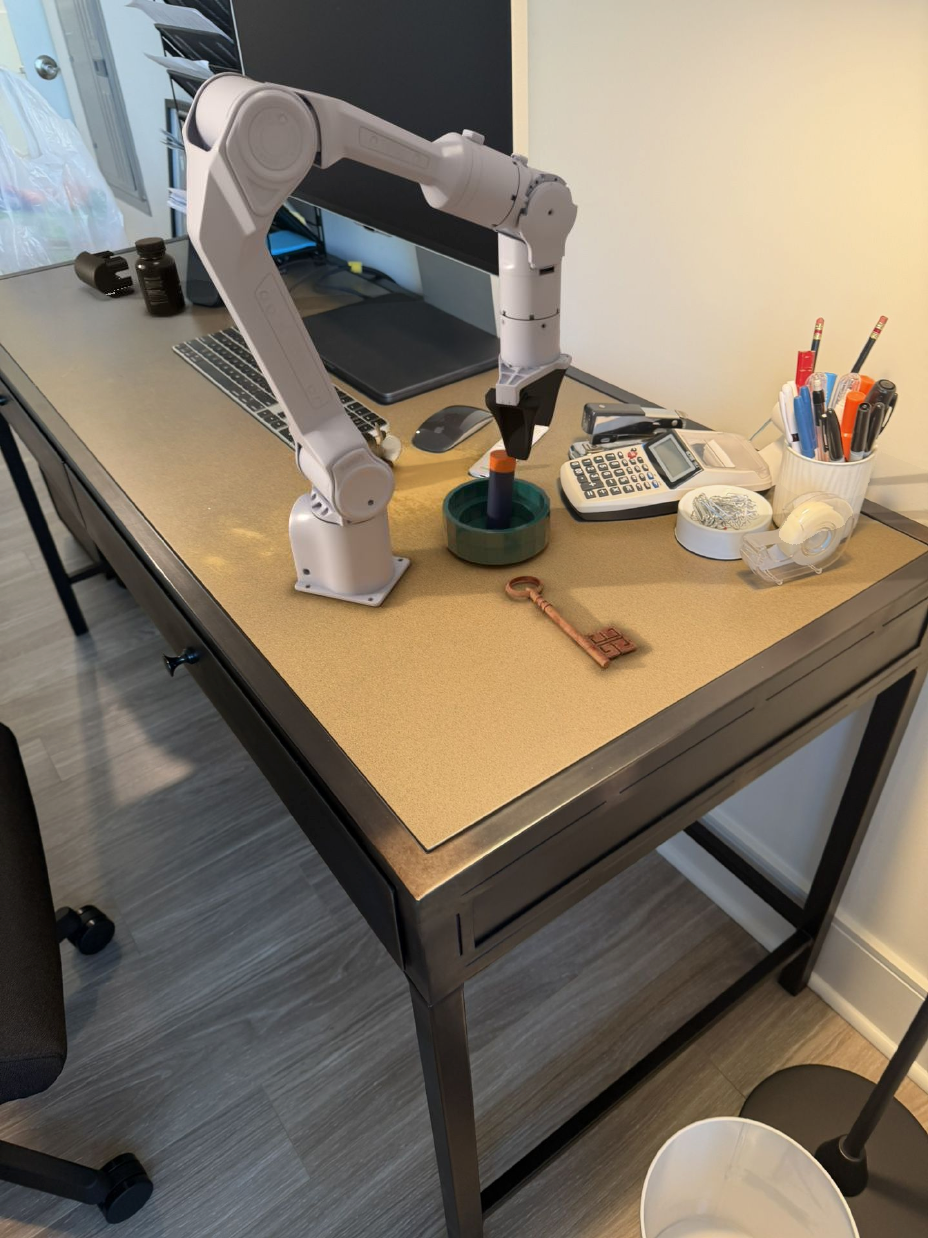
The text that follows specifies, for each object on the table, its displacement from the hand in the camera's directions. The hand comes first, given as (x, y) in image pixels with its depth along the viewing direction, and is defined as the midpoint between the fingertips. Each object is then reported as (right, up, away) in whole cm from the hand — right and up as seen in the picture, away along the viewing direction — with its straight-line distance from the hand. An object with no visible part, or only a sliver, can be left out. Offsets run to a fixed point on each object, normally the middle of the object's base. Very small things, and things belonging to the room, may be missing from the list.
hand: (529, 440), depth 89 cm
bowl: (-3, -10, +3) cm, 11 cm away
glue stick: (-3, -9, +2) cm, 10 cm away
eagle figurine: (-19, -1, +15) cm, 24 cm away
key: (+3, -19, -8) cm, 21 cm away
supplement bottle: (-60, +37, +65) cm, 96 cm away
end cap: (-75, +44, +75) cm, 115 cm away
